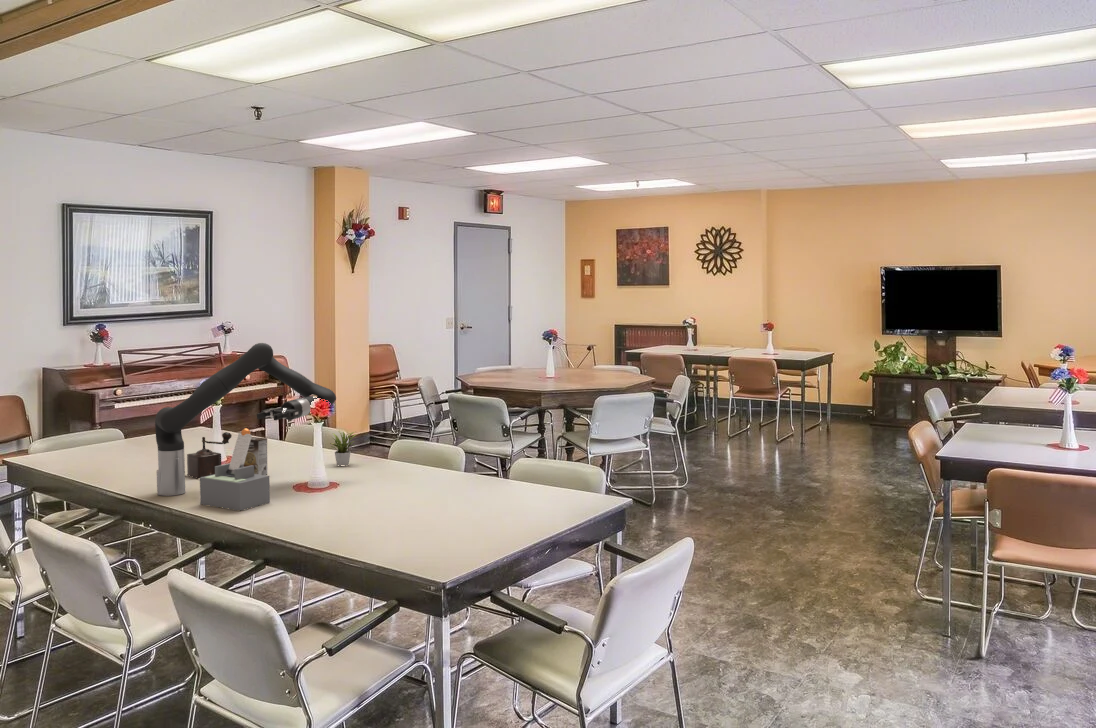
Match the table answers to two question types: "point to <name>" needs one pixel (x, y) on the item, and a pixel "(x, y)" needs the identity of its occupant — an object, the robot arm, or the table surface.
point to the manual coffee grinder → (205, 459)
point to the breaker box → (234, 488)
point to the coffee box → (257, 455)
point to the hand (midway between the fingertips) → (265, 417)
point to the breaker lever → (239, 451)
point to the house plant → (342, 449)
